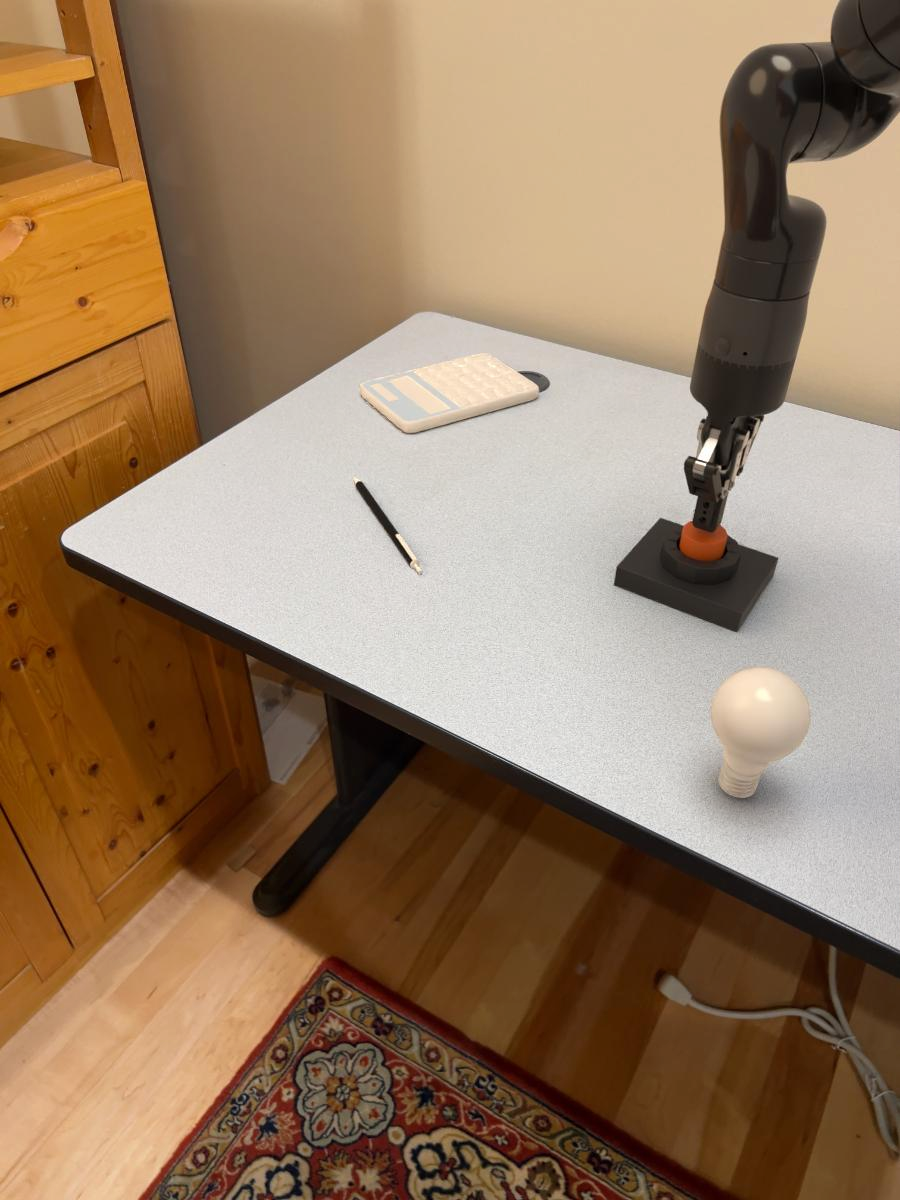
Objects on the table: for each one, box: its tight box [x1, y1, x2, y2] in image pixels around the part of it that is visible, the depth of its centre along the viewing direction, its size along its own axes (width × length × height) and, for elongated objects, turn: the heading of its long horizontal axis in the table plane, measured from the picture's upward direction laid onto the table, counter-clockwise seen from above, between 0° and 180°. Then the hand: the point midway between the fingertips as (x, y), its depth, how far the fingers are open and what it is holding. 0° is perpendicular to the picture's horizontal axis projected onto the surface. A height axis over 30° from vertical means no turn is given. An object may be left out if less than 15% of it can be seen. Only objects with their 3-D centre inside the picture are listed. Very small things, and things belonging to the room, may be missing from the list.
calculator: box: [358, 352, 540, 434], centre depth 113 cm, size 13×20×2 cm, turn 121°
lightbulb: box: [710, 666, 812, 799], centre depth 61 cm, size 6×6×11 cm
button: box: [679, 520, 729, 561], centre depth 81 cm, size 4×4×2 cm
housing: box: [613, 517, 779, 633], centre depth 82 cm, size 12×10×4 cm
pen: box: [353, 476, 423, 575], centre depth 91 cm, size 1×19×1 cm, turn 24°
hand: (705, 526), depth 80 cm, fingers closed
